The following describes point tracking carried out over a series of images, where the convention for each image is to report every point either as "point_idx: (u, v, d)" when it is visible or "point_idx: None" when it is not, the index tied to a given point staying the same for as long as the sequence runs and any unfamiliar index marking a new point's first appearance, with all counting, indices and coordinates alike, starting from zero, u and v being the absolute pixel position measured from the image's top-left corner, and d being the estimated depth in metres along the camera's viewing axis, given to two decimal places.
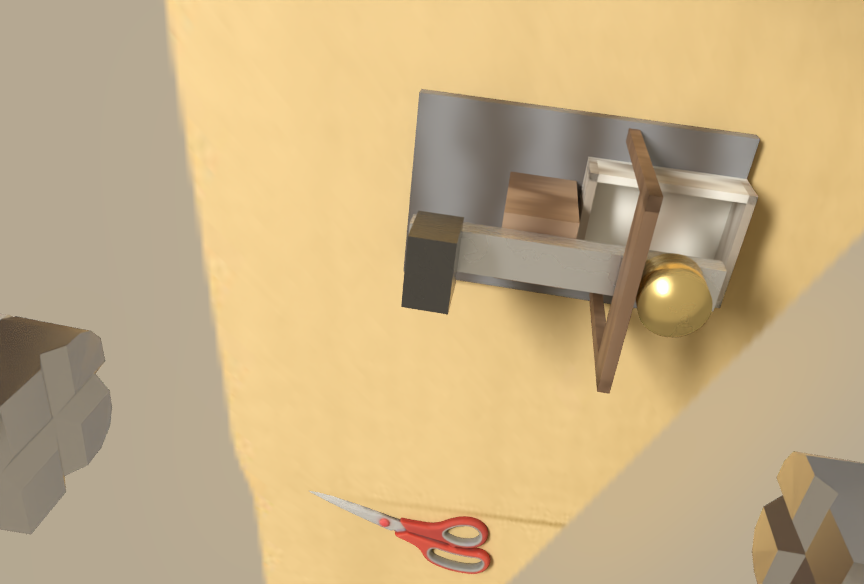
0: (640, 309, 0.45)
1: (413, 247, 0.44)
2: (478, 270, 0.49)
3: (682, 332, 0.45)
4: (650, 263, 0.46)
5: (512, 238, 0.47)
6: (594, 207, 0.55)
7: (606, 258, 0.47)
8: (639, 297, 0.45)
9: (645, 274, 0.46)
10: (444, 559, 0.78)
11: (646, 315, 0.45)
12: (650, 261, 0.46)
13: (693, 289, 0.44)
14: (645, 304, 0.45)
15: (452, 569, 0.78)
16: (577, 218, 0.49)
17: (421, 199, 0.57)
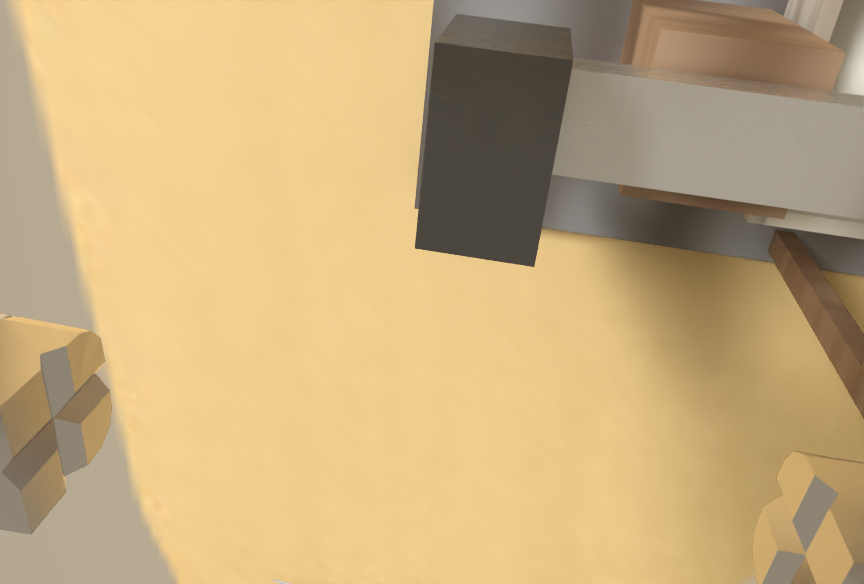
0: None
1: (451, 77, 0.16)
2: (595, 169, 0.21)
3: None
4: None
5: (687, 83, 0.19)
6: None
7: None
8: None
9: None
10: None
11: None
12: None
13: None
14: None
15: None
16: (832, 46, 0.21)
17: None
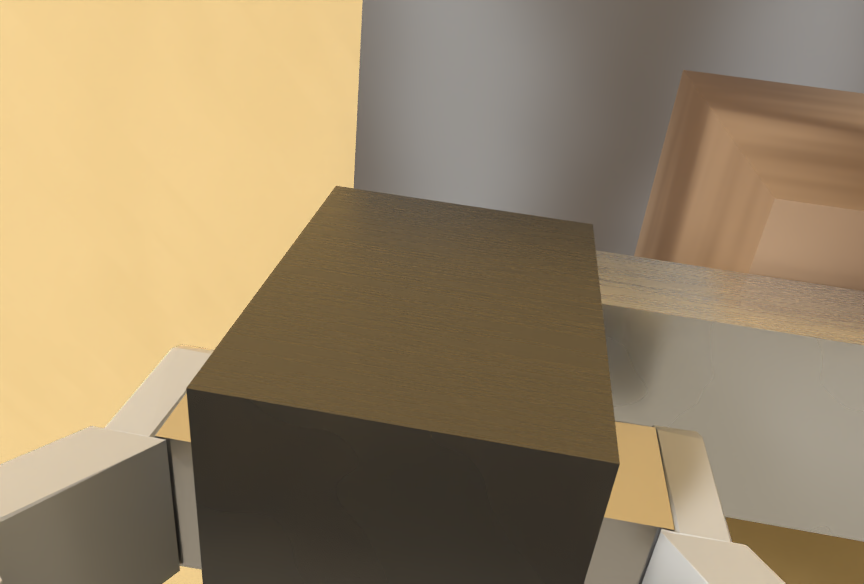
0: None
1: (247, 474, 0.05)
2: None
3: None
4: None
5: (854, 341, 0.09)
6: None
7: None
8: None
9: None
10: None
11: None
12: None
13: None
14: None
15: None
16: None
17: (389, 167, 0.19)
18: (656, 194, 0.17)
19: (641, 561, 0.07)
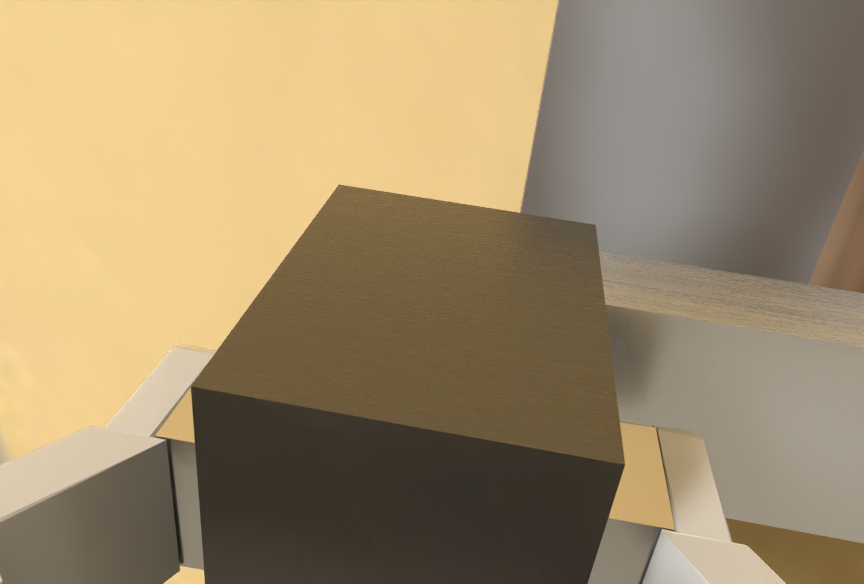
0: None
1: (252, 472, 0.05)
2: None
3: None
4: None
5: (855, 343, 0.09)
6: None
7: None
8: None
9: None
10: None
11: None
12: None
13: None
14: None
15: None
16: None
17: (561, 193, 0.18)
18: (848, 224, 0.17)
19: (641, 561, 0.07)
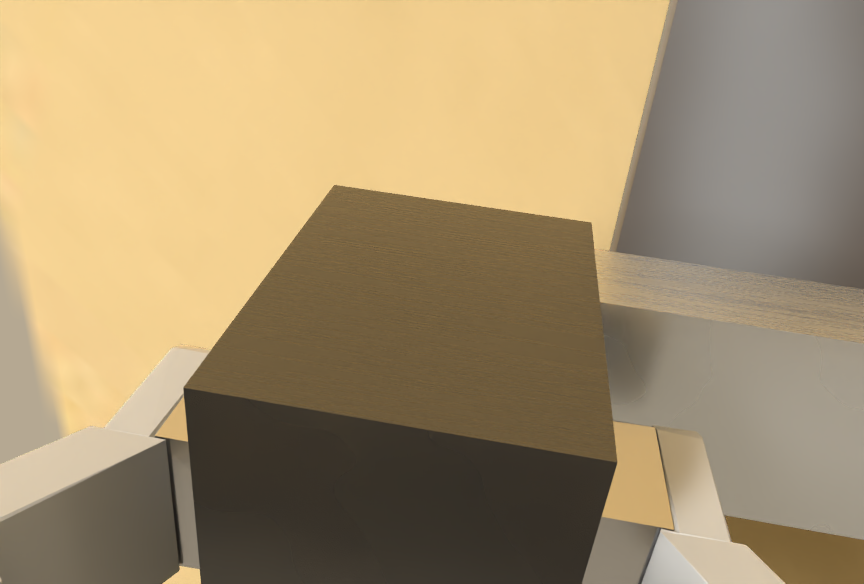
0: None
1: (246, 473, 0.05)
2: None
3: None
4: None
5: (853, 339, 0.09)
6: None
7: None
8: None
9: None
10: None
11: None
12: None
13: None
14: None
15: None
16: None
17: (665, 206, 0.18)
18: None
19: (640, 561, 0.07)
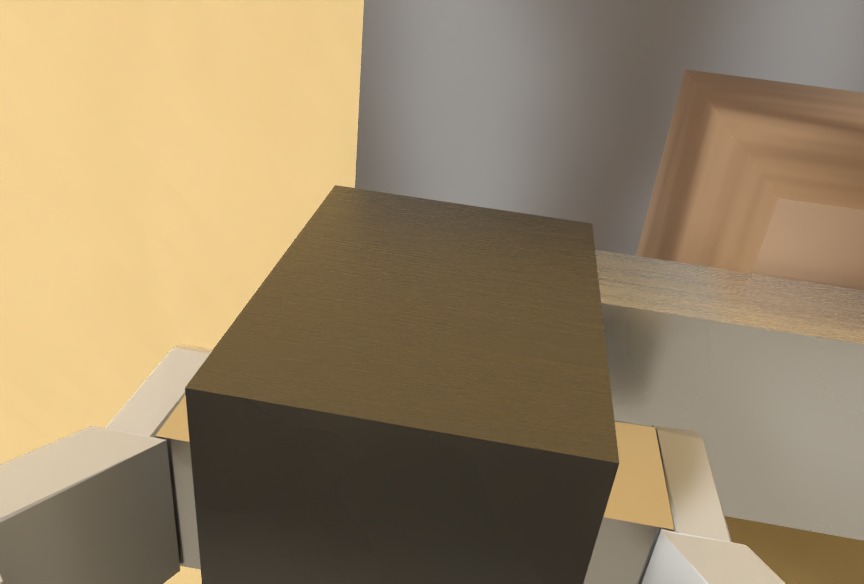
0: None
1: (247, 473, 0.05)
2: None
3: None
4: None
5: (854, 340, 0.09)
6: None
7: None
8: None
9: None
10: None
11: None
12: None
13: None
14: None
15: None
16: None
17: (391, 167, 0.19)
18: (658, 194, 0.17)
19: (641, 561, 0.07)
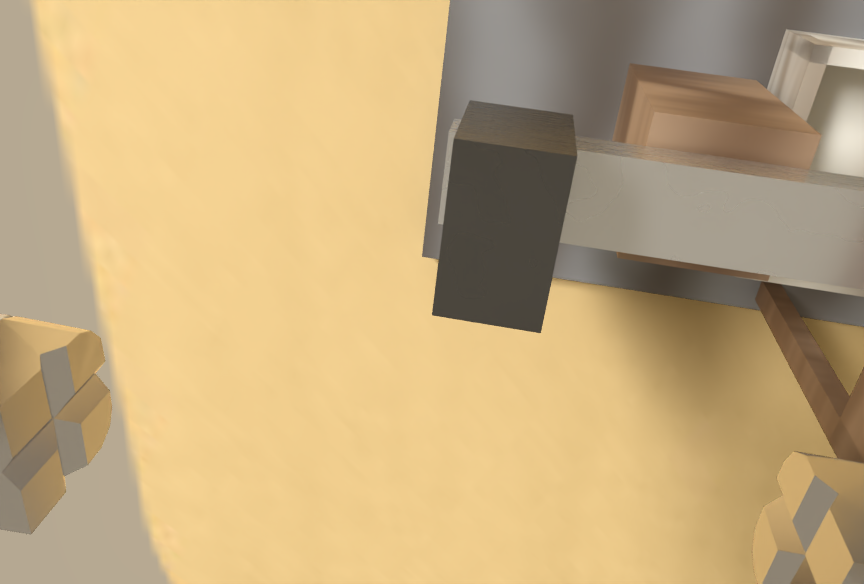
0: None
1: (467, 168, 0.18)
2: (595, 238, 0.23)
3: None
4: None
5: (679, 164, 0.21)
6: None
7: None
8: None
9: None
10: None
11: None
12: None
13: None
14: None
15: None
16: (809, 127, 0.23)
17: None
18: (615, 135, 0.30)
19: None
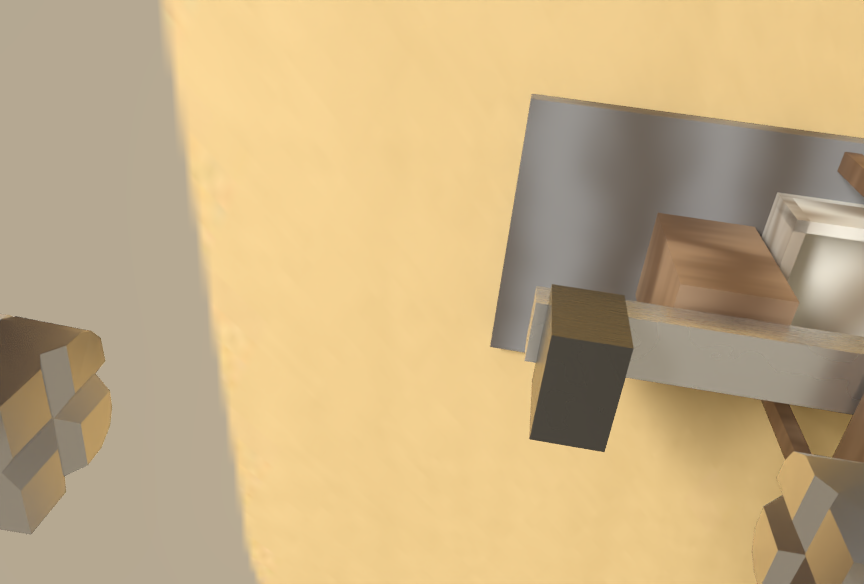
0: None
1: (559, 353, 0.27)
2: (638, 373, 0.32)
3: None
4: None
5: (698, 327, 0.30)
6: None
7: (848, 360, 0.30)
8: None
9: None
10: None
11: None
12: None
13: None
14: None
15: None
16: (791, 293, 0.32)
17: (523, 250, 0.40)
18: (646, 265, 0.39)
19: None
